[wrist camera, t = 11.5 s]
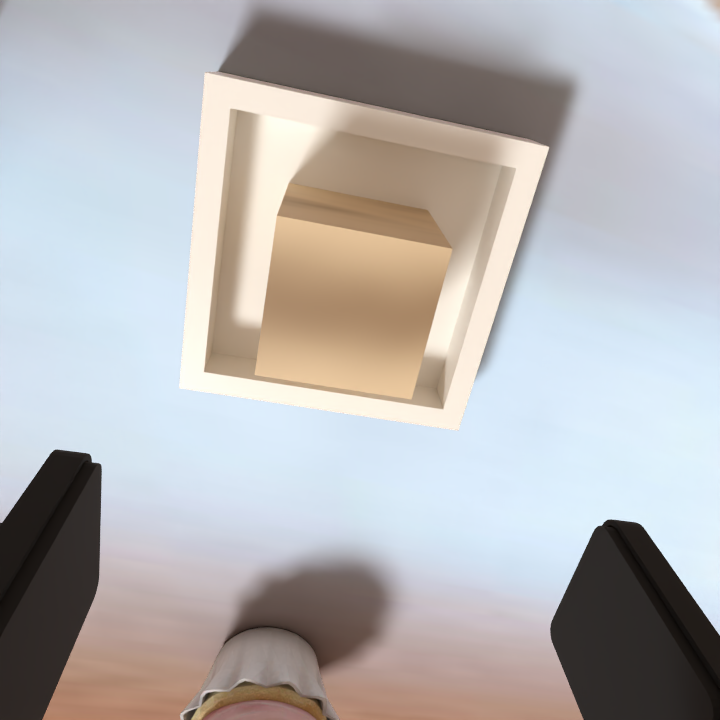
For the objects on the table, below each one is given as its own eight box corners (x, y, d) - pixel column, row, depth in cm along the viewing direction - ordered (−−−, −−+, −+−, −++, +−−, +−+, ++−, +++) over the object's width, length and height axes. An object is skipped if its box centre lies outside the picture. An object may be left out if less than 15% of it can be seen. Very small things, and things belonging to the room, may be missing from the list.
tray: (448, 402, 31) (458, 430, 29) (191, 362, 29) (179, 387, 27) (529, 139, 25) (549, 147, 23) (217, 71, 24) (205, 72, 21)
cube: (396, 335, 28) (411, 399, 23) (269, 314, 28) (254, 375, 22) (427, 209, 26) (452, 248, 20) (289, 182, 25) (276, 215, 20)
